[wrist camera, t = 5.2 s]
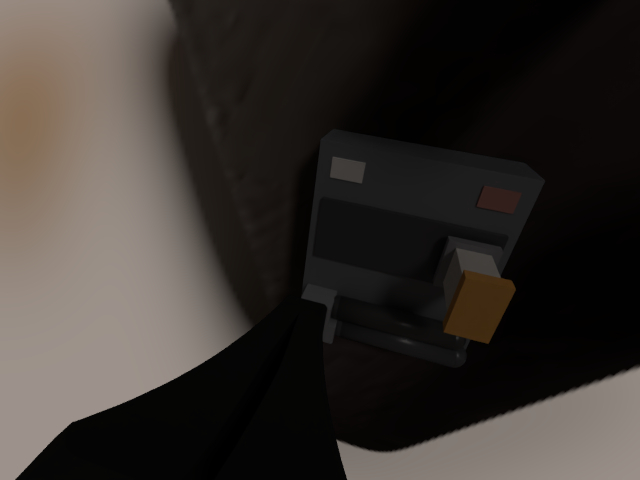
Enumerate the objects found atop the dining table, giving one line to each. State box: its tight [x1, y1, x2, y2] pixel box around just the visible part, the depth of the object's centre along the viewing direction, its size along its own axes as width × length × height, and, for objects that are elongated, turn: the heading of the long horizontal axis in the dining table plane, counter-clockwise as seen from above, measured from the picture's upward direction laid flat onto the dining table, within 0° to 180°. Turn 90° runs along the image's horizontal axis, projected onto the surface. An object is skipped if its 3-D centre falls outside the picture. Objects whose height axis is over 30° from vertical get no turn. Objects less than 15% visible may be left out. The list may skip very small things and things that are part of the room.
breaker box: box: [301, 129, 545, 368], centre depth 19 cm, size 10×11×5 cm
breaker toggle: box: [433, 236, 516, 344], centre depth 15 cm, size 2×3×4 cm
